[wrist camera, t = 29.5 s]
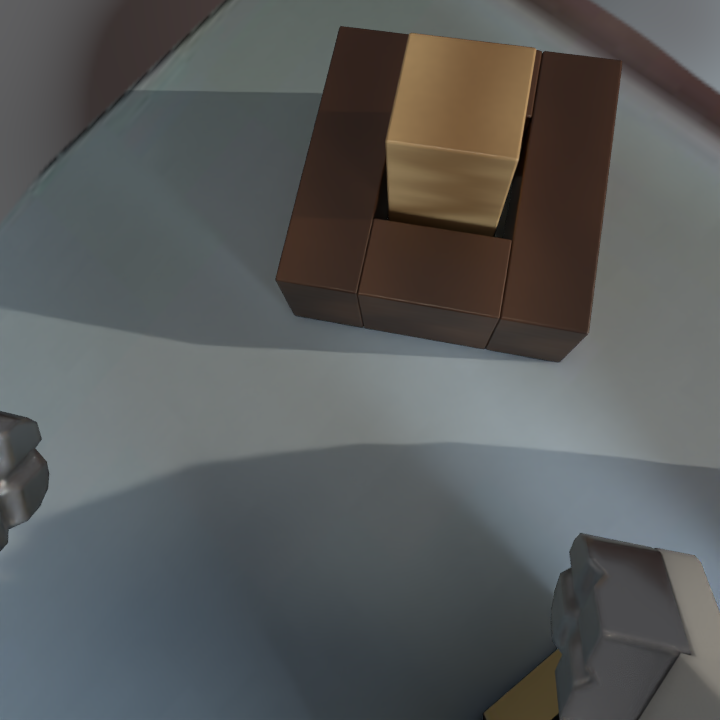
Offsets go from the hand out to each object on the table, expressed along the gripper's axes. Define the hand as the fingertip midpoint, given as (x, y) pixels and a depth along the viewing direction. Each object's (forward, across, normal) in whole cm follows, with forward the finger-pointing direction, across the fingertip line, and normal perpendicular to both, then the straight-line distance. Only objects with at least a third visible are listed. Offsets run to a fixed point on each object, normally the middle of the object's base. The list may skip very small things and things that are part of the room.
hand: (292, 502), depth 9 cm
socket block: (+20, -1, +2) cm, 20 cm away
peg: (+20, -1, +2) cm, 20 cm away
